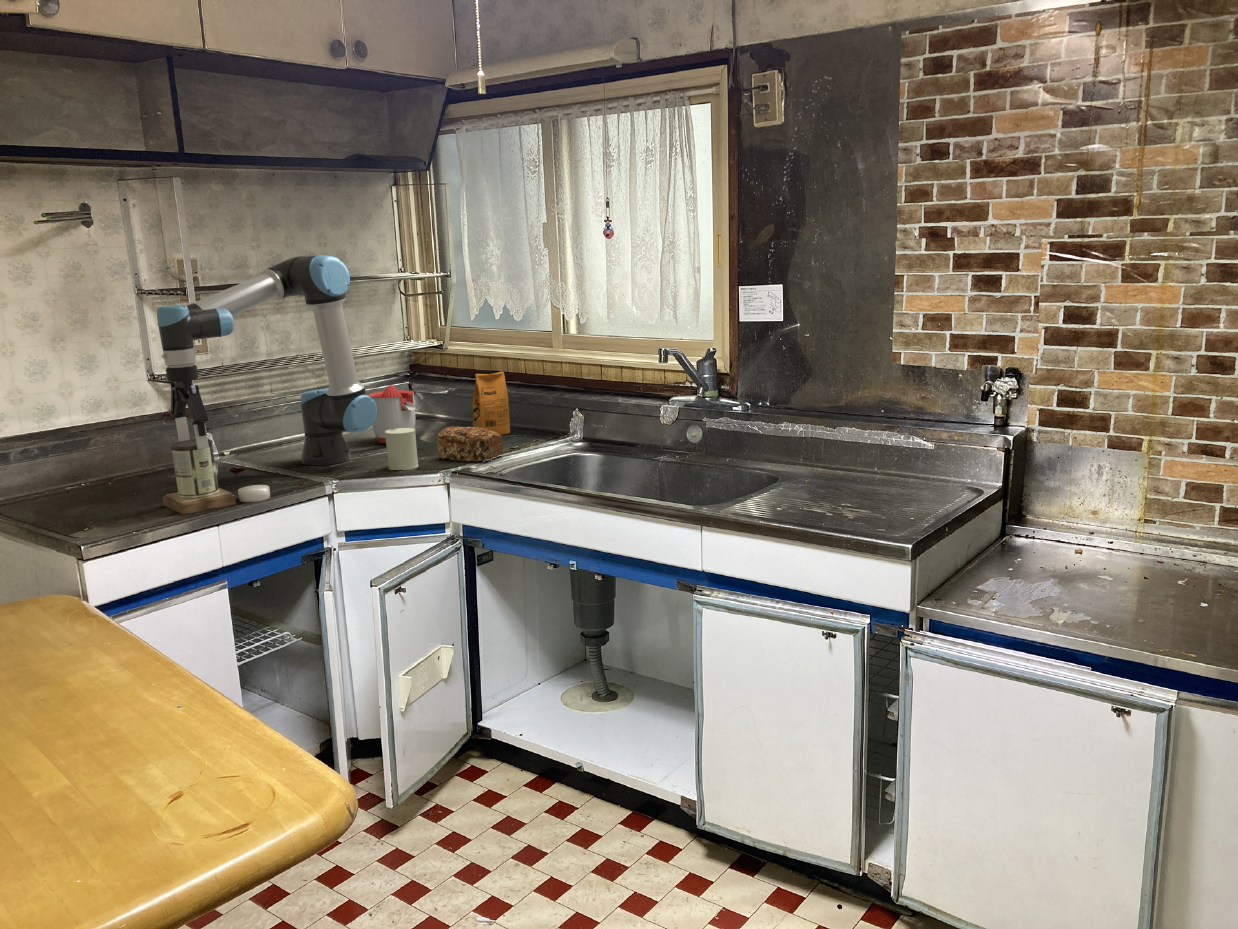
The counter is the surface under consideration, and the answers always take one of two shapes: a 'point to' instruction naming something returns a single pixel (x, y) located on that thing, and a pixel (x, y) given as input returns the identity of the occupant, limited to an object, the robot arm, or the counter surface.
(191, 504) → the plinth
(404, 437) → the pale green cylinder
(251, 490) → the white rounded flat block
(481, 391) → the coffee package
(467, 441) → the bread
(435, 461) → the counter surface
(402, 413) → the citrus juicer
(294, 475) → the counter surface
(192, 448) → the coffee can
